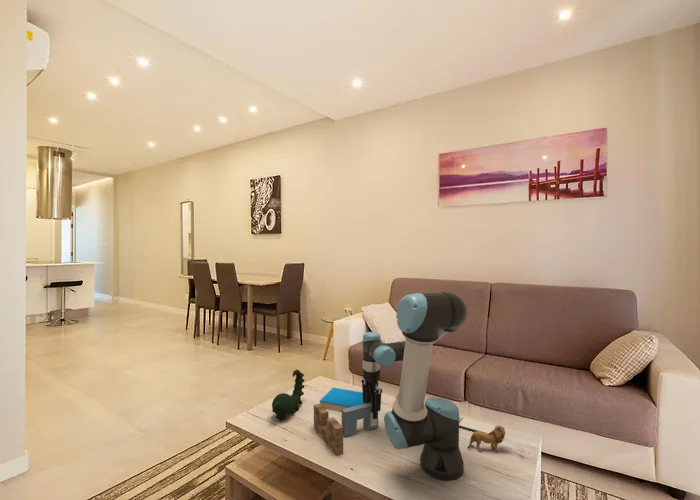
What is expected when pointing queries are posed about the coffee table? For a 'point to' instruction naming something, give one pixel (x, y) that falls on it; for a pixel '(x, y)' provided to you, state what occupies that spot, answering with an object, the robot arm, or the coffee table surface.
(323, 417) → the walnut board
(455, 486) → the coffee table surface
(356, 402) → the book
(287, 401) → the toy figurine
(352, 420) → the slate plate
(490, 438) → the lion figurine
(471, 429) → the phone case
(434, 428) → the robot arm
